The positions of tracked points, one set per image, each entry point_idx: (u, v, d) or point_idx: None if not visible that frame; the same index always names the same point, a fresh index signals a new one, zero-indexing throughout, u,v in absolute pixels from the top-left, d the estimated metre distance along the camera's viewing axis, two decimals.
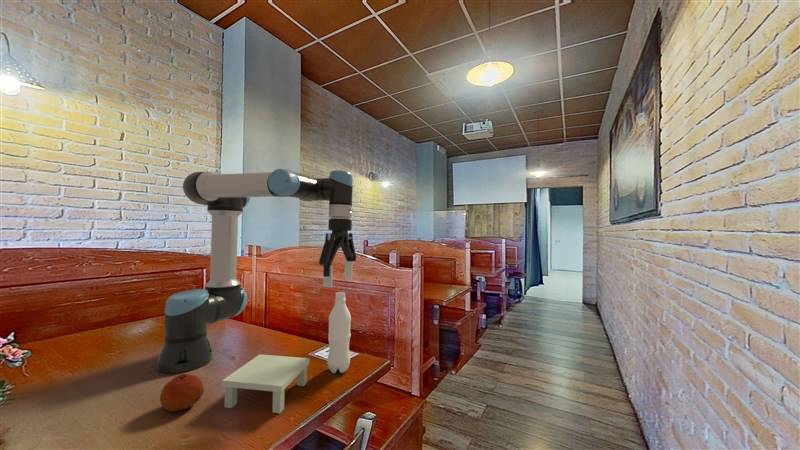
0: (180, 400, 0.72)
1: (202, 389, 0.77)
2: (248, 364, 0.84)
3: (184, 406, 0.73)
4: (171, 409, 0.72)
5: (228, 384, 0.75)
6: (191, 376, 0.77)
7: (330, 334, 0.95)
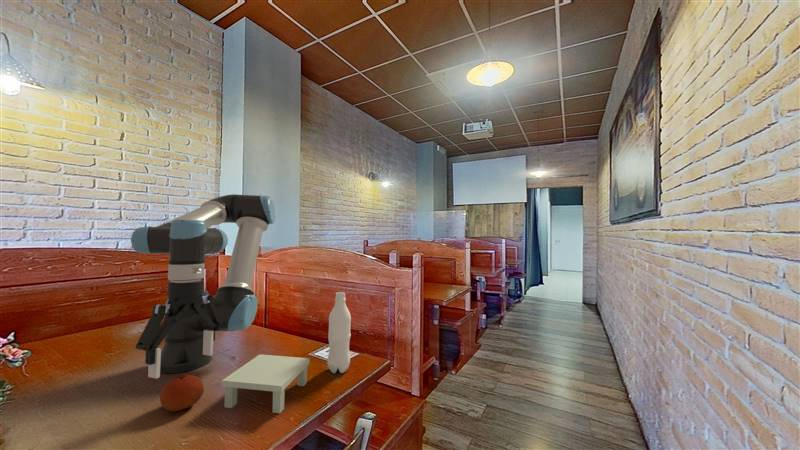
0: (180, 400, 0.72)
1: (202, 389, 0.77)
2: (248, 364, 0.84)
3: (184, 406, 0.73)
4: (171, 409, 0.72)
5: (228, 384, 0.75)
6: (191, 376, 0.77)
7: (330, 334, 0.95)
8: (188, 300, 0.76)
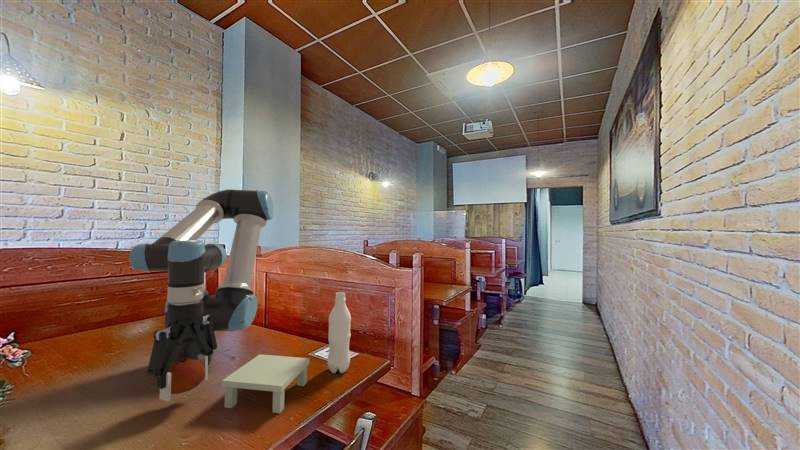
0: (181, 383, 0.73)
1: (204, 372, 0.78)
2: (248, 364, 0.84)
3: (186, 389, 0.74)
4: (173, 391, 0.73)
5: (228, 384, 0.75)
6: (192, 360, 0.78)
7: (330, 334, 0.95)
8: (188, 321, 0.76)
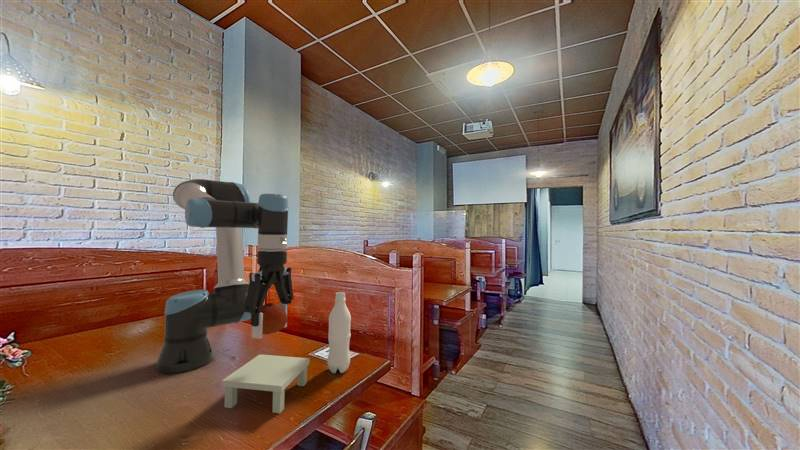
0: (271, 323, 0.79)
1: None
2: (248, 364, 0.84)
3: (274, 329, 0.80)
4: (264, 331, 0.79)
5: (228, 384, 0.75)
6: (276, 305, 0.84)
7: (330, 334, 0.95)
8: (274, 268, 0.82)
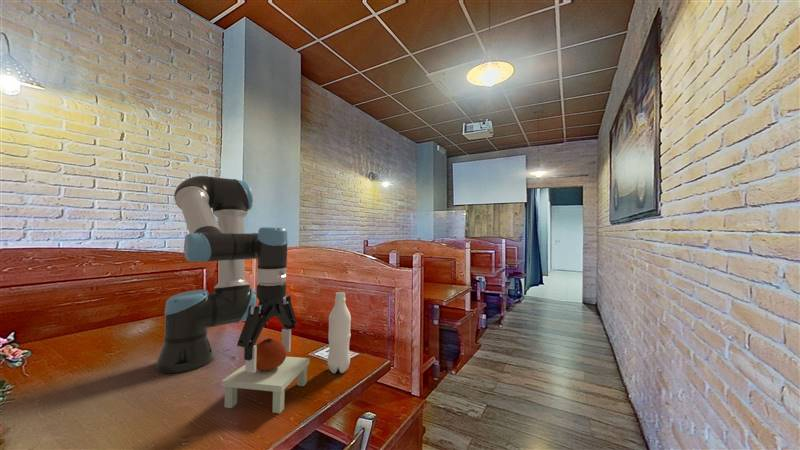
0: (270, 361, 0.79)
1: (285, 352, 0.84)
2: None
3: (273, 366, 0.79)
4: (263, 368, 0.78)
5: (228, 384, 0.75)
6: (275, 340, 0.84)
7: (330, 334, 0.95)
8: (274, 301, 0.82)
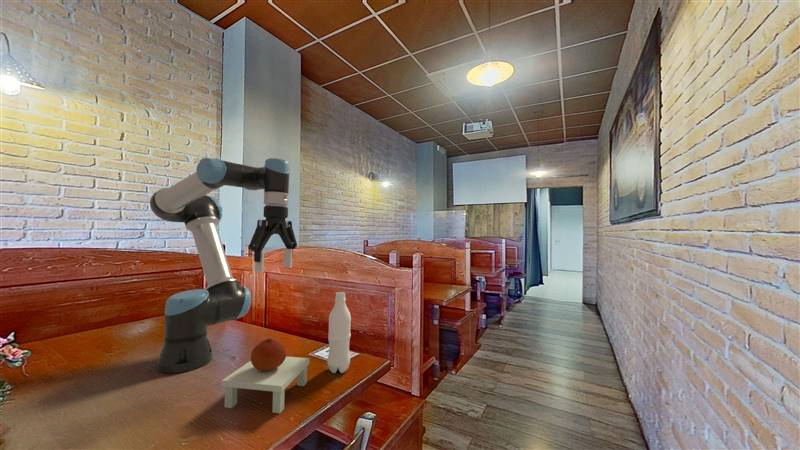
0: (270, 361, 0.79)
1: (285, 352, 0.84)
2: (248, 364, 0.84)
3: (273, 366, 0.79)
4: (263, 368, 0.78)
5: (228, 384, 0.75)
6: (275, 340, 0.84)
7: (330, 334, 0.95)
8: (278, 220, 0.99)
